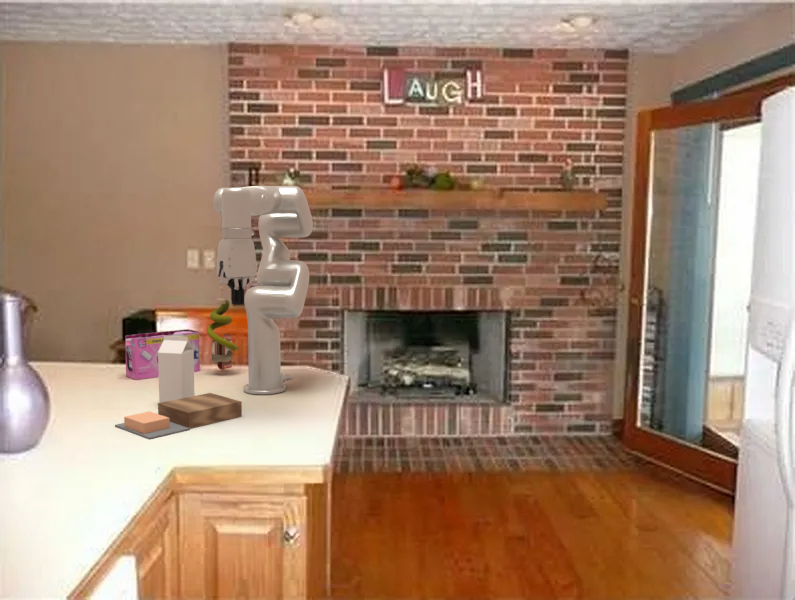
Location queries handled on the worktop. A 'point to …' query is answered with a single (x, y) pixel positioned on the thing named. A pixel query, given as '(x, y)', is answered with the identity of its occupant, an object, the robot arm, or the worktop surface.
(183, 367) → the milk carton
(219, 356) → the prank snake can
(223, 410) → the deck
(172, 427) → the mat
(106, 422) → the worktop surface
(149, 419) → the peach flat block
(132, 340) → the gum box
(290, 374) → the robot arm
